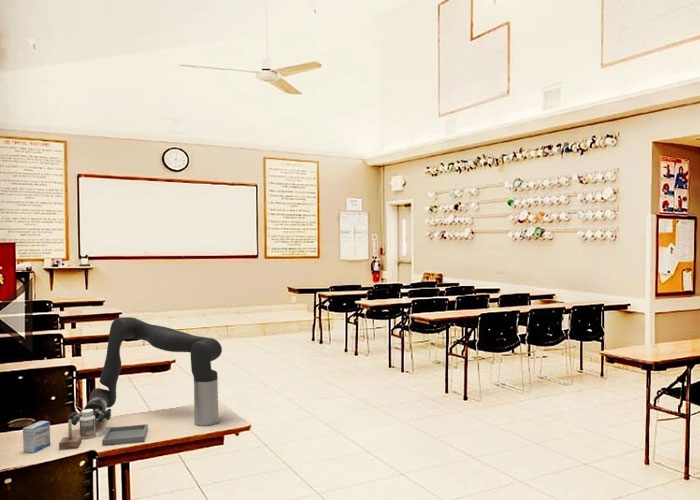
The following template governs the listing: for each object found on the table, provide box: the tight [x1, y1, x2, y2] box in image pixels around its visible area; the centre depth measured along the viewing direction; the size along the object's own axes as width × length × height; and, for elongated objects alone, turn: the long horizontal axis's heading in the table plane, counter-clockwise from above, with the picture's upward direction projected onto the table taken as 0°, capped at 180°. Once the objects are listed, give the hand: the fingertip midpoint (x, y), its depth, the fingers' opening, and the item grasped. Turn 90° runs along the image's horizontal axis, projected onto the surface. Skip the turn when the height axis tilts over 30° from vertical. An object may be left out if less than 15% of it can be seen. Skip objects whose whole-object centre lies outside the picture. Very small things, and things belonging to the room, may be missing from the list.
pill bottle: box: [79, 409, 97, 440], centre depth 207 cm, size 5×5×10 cm
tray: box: [101, 423, 149, 447], centre depth 206 cm, size 14×14×2 cm
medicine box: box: [22, 420, 51, 454], centre depth 195 cm, size 8×4×9 cm, turn 168°
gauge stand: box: [58, 418, 82, 451], centre depth 197 cm, size 6×6×10 cm
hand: (86, 421), depth 205 cm, fingers open, 8 cm apart
